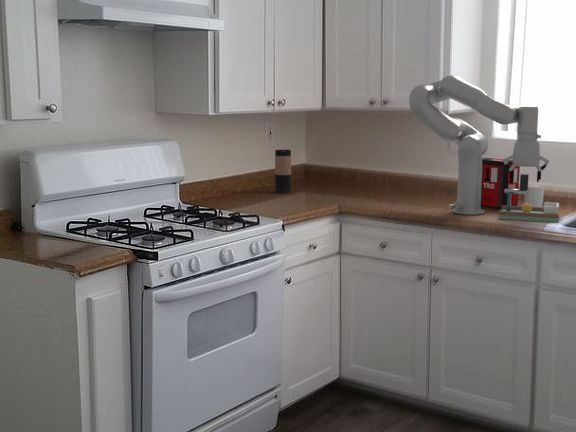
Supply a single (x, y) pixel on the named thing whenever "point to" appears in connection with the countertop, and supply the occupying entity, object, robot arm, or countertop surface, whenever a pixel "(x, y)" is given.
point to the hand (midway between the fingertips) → (525, 181)
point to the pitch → (527, 214)
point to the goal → (551, 208)
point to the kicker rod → (522, 189)
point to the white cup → (535, 195)
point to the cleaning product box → (498, 183)
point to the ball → (526, 207)
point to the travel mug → (282, 171)
